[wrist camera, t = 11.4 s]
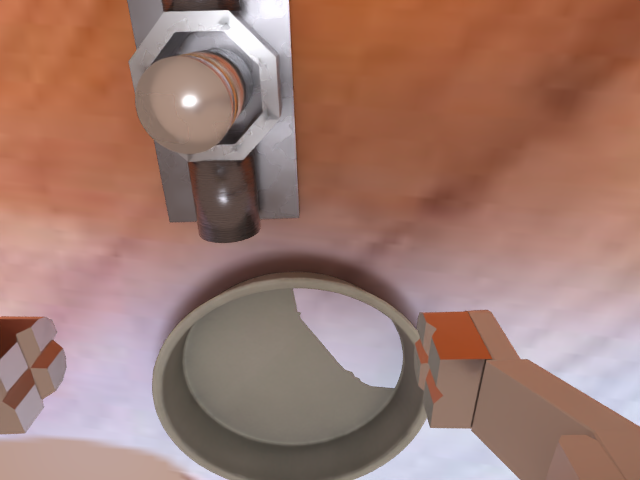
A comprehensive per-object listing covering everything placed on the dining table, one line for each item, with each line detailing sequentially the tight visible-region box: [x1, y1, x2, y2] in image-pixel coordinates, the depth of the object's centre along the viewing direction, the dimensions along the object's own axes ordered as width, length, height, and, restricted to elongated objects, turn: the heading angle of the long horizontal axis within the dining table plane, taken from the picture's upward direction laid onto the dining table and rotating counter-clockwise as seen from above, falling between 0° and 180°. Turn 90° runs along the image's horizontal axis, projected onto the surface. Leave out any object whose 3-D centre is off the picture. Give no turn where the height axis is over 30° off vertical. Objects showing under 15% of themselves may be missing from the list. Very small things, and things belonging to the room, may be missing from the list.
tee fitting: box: [127, 0, 299, 243], centre depth 28 cm, size 10×20×5 cm, turn 1°
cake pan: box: [152, 272, 427, 480], centre depth 40 cm, size 25×25×4 cm
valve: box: [135, 48, 253, 154], centre depth 25 cm, size 4×4×10 cm
